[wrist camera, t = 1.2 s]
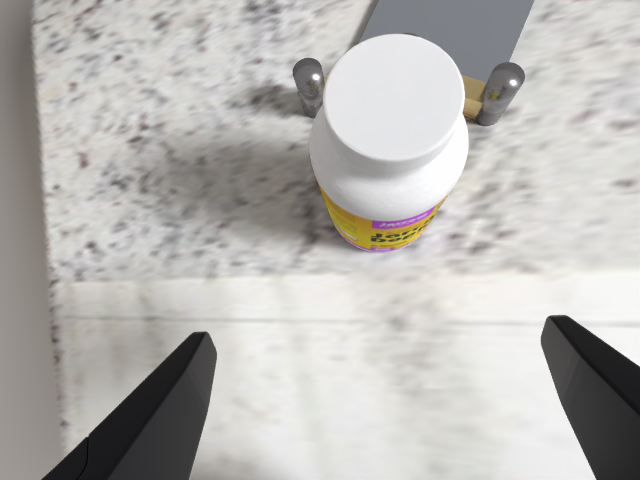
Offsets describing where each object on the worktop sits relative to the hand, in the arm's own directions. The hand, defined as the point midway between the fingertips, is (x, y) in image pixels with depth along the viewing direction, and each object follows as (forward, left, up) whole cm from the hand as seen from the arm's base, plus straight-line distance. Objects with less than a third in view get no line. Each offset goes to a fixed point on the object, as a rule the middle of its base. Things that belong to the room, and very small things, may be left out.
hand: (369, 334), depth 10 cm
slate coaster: (+3, -22, -14) cm, 26 cm away
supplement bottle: (+2, -7, -14) cm, 16 cm away
